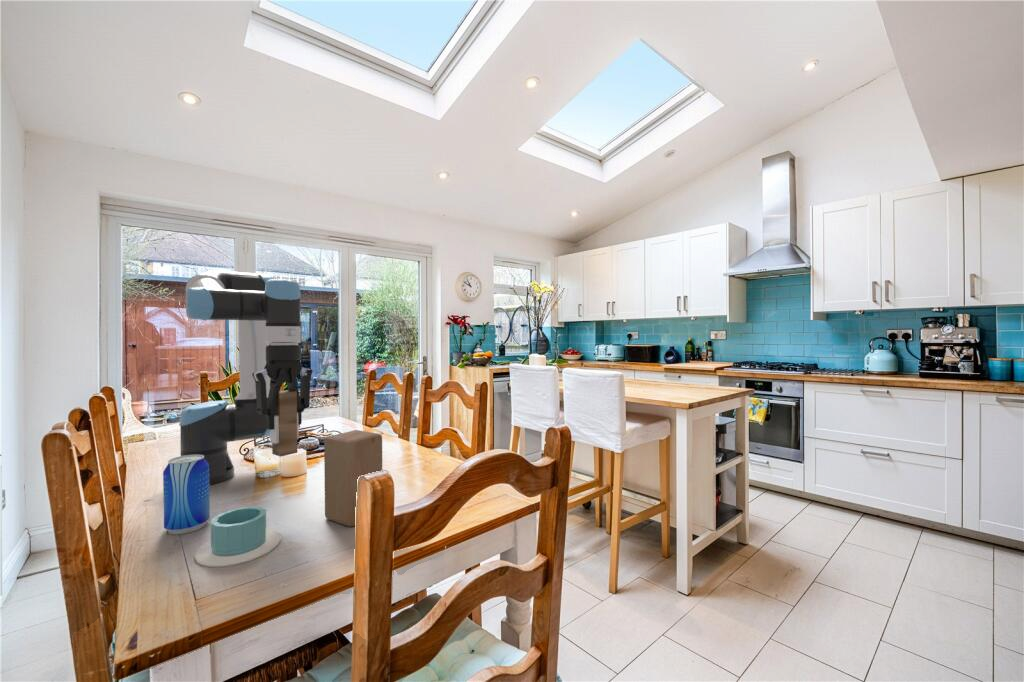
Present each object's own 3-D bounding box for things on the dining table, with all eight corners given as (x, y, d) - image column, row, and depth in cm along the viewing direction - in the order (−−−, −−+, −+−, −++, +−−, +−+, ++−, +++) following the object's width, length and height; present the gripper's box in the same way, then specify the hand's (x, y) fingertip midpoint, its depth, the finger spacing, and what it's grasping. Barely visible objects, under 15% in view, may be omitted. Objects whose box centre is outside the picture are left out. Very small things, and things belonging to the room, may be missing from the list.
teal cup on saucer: (183, 551, 87) (182, 519, 87) (261, 524, 99) (260, 496, 99) (212, 575, 79) (212, 540, 78) (294, 543, 91) (293, 512, 91)
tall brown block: (272, 453, 103) (271, 392, 103) (288, 450, 106) (288, 390, 106) (280, 456, 101) (279, 393, 100) (297, 452, 104) (296, 391, 104)
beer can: (172, 522, 101) (171, 455, 100) (214, 517, 104) (213, 451, 103) (157, 538, 93) (156, 465, 93) (203, 532, 96) (202, 461, 96)
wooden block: (384, 513, 106) (383, 433, 106) (350, 529, 97) (350, 442, 97) (357, 505, 111) (356, 428, 111) (323, 519, 102) (322, 436, 102)
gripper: (252, 345, 94) (254, 450, 94) (325, 343, 108) (326, 435, 108) (237, 344, 98) (239, 445, 99) (309, 343, 112) (310, 431, 113)
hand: (284, 440), depth 103 cm, fingers closed on tall brown block, 4 cm apart
